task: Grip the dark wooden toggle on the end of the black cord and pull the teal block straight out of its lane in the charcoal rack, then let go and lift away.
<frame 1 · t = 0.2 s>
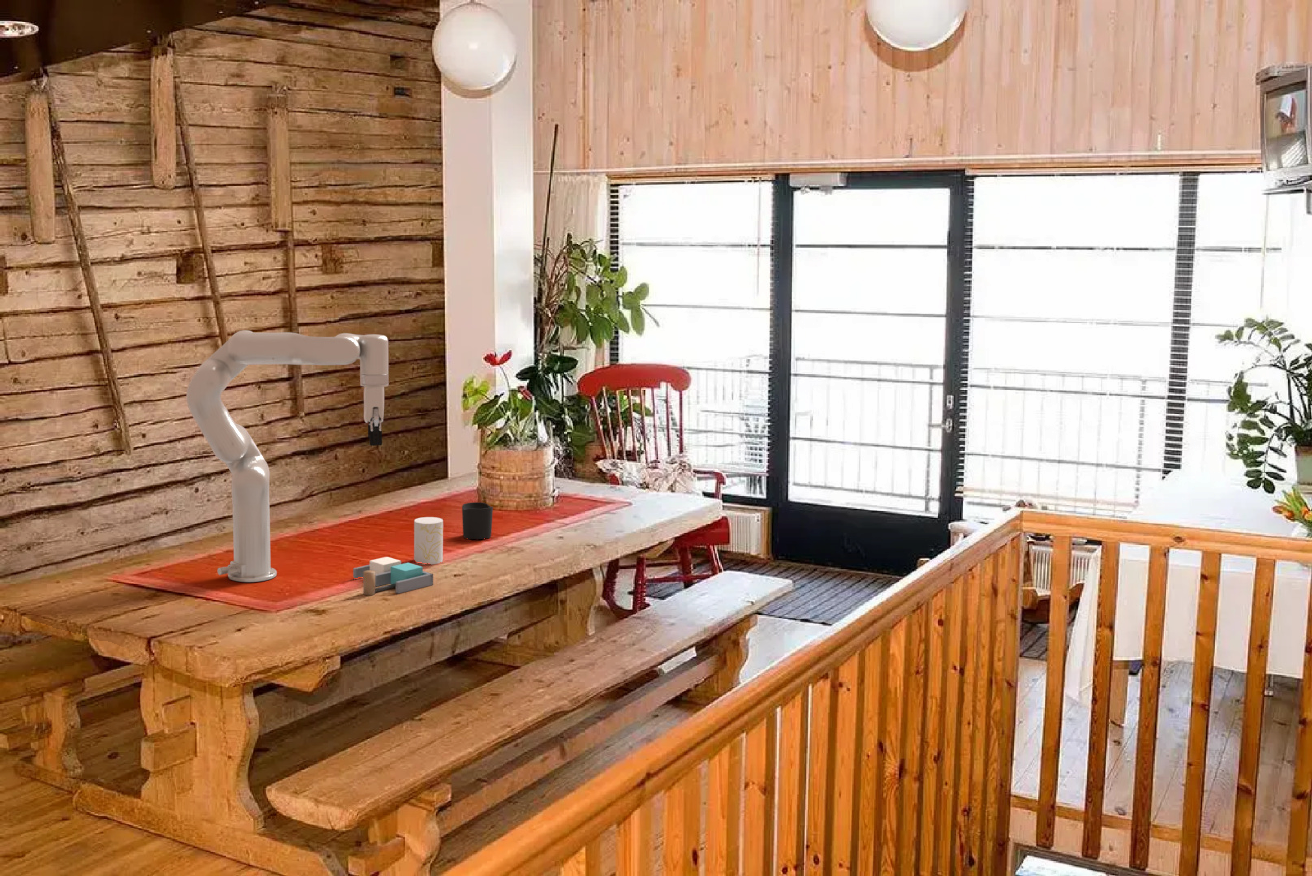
hand: (374, 442, 357), 37 cm above the table, tool pointing down, fingers open, 9 cm apart
off-white block: (385, 578, 358), resting in lane rack
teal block: (406, 584, 352), on the table
lane rack: (393, 581, 354), on the table
pen holder: (477, 537, 405), on the table
cup: (428, 561, 376), on the table
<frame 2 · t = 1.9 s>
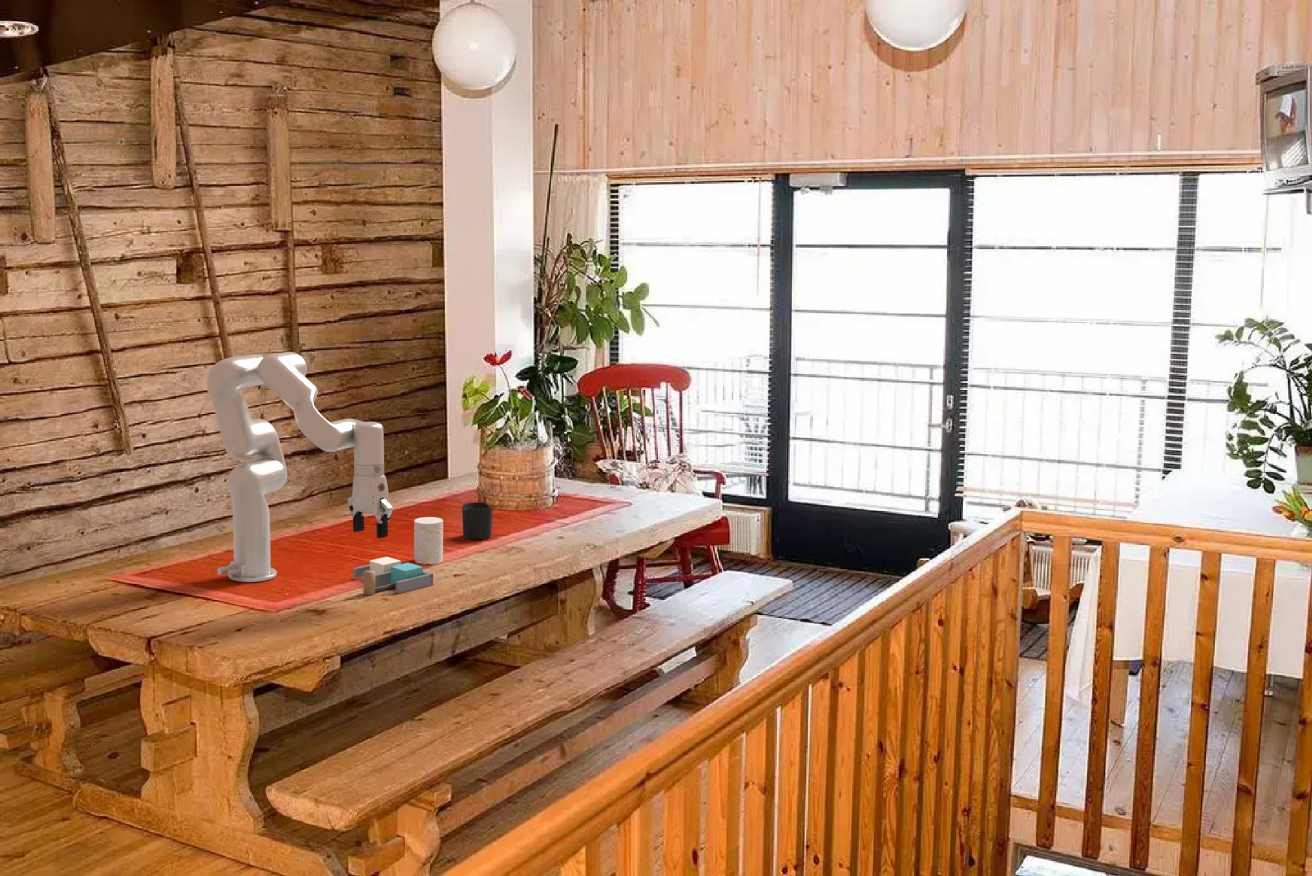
hand: (370, 534, 339), 16 cm above the table, tool pointing down, fingers open, 9 cm apart
nothing on the table moved.
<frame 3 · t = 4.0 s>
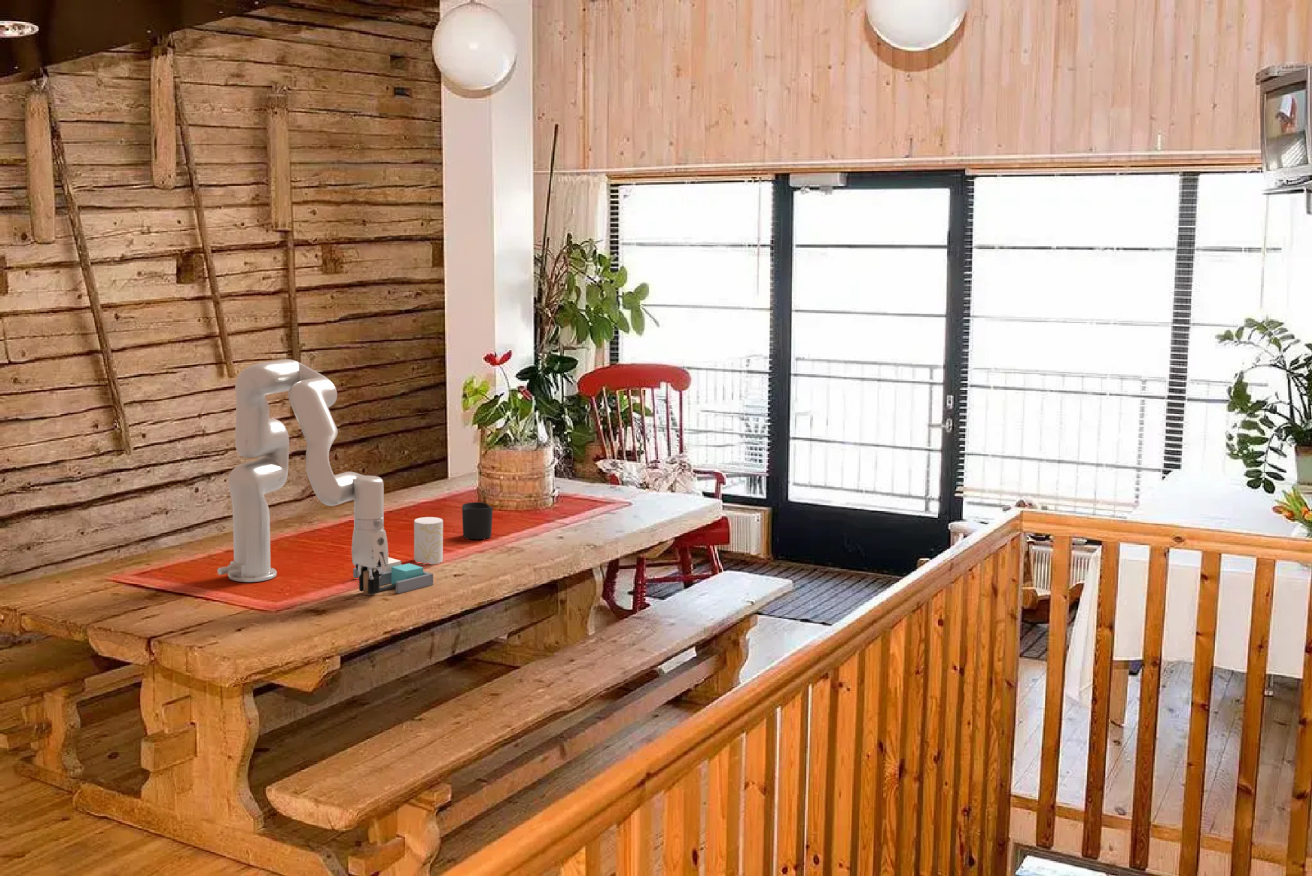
hand: (369, 590, 342), 1 cm above the table, tool pointing down, fingers closed on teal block, 2 cm apart
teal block: (407, 585, 352), on the table, touching gripper
everything else where it was.
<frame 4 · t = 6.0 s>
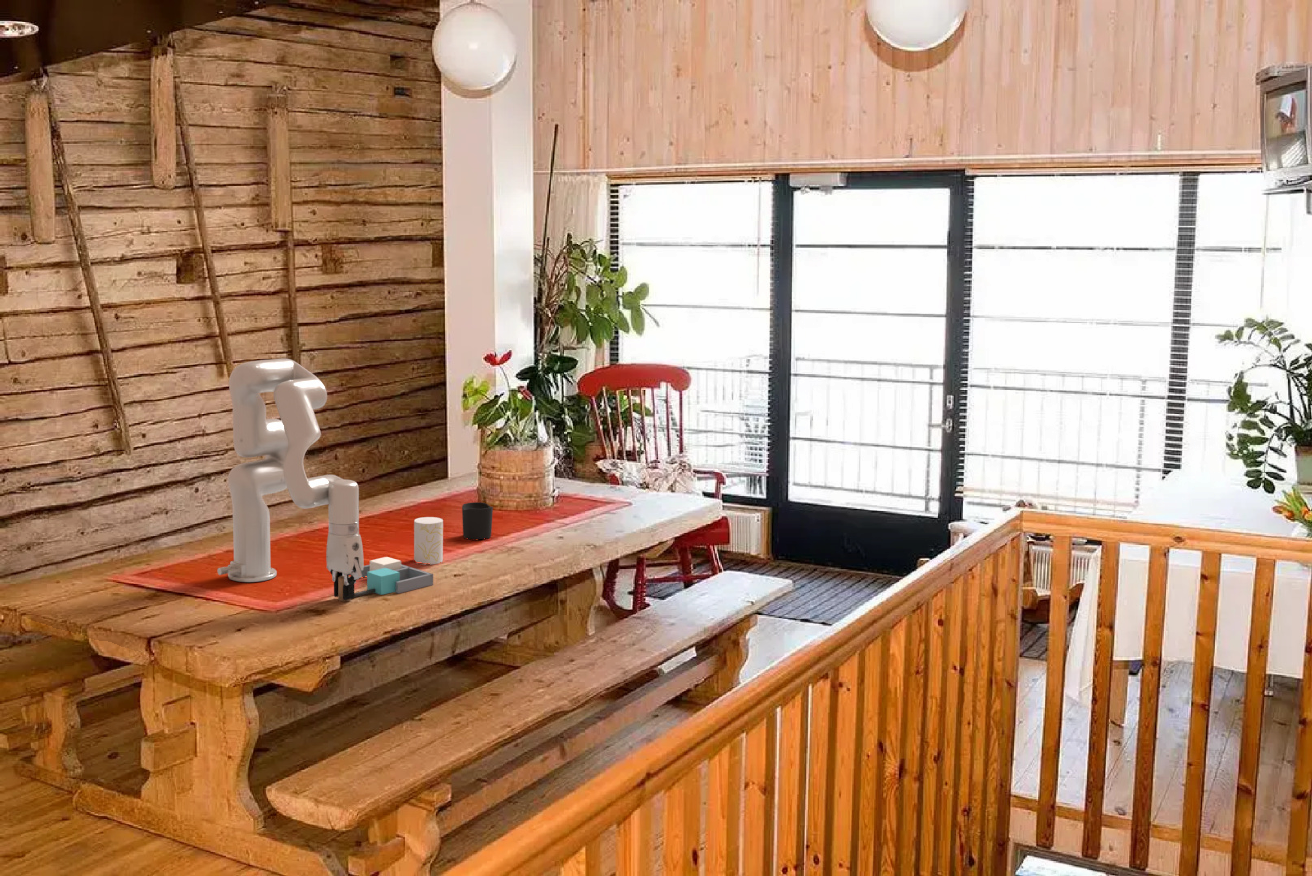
hand: (344, 596, 336), 1 cm above the table, tool pointing down, fingers closed on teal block, 3 cm apart
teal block: (383, 590, 346), on the table, touching gripper
everything else where it was.
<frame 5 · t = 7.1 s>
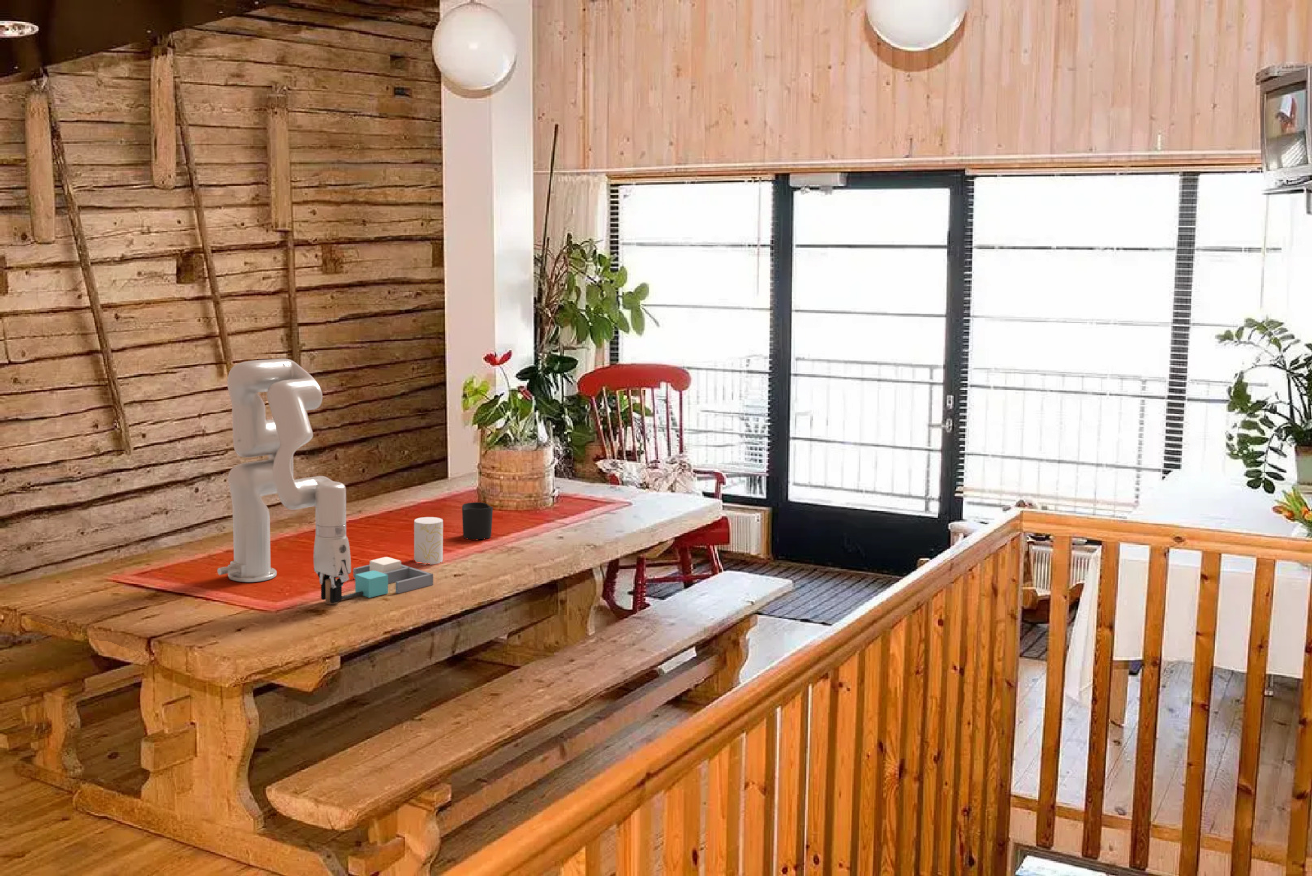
hand: (331, 599, 333), 1 cm above the table, tool pointing down, fingers closed on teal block, 3 cm apart
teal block: (371, 592, 343), on the table, touching gripper
everything else where it was.
when the fingers open (1 cm above the table, at t = 8.1 s): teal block stays where it is, on the table.
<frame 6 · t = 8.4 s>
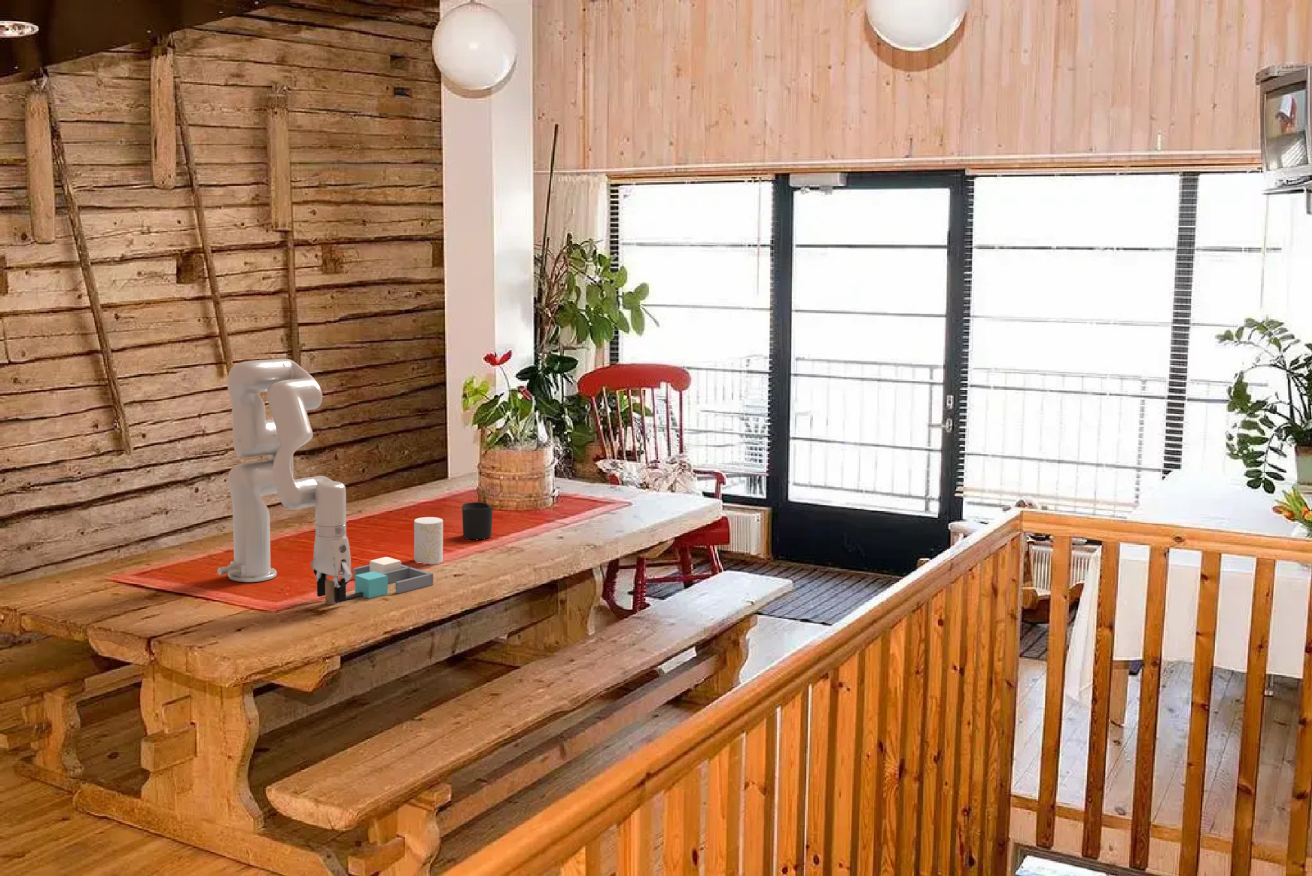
hand: (331, 597, 333), 1 cm above the table, tool pointing down, fingers open, 6 cm apart
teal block: (371, 593, 343), on the table
everything else where it was.
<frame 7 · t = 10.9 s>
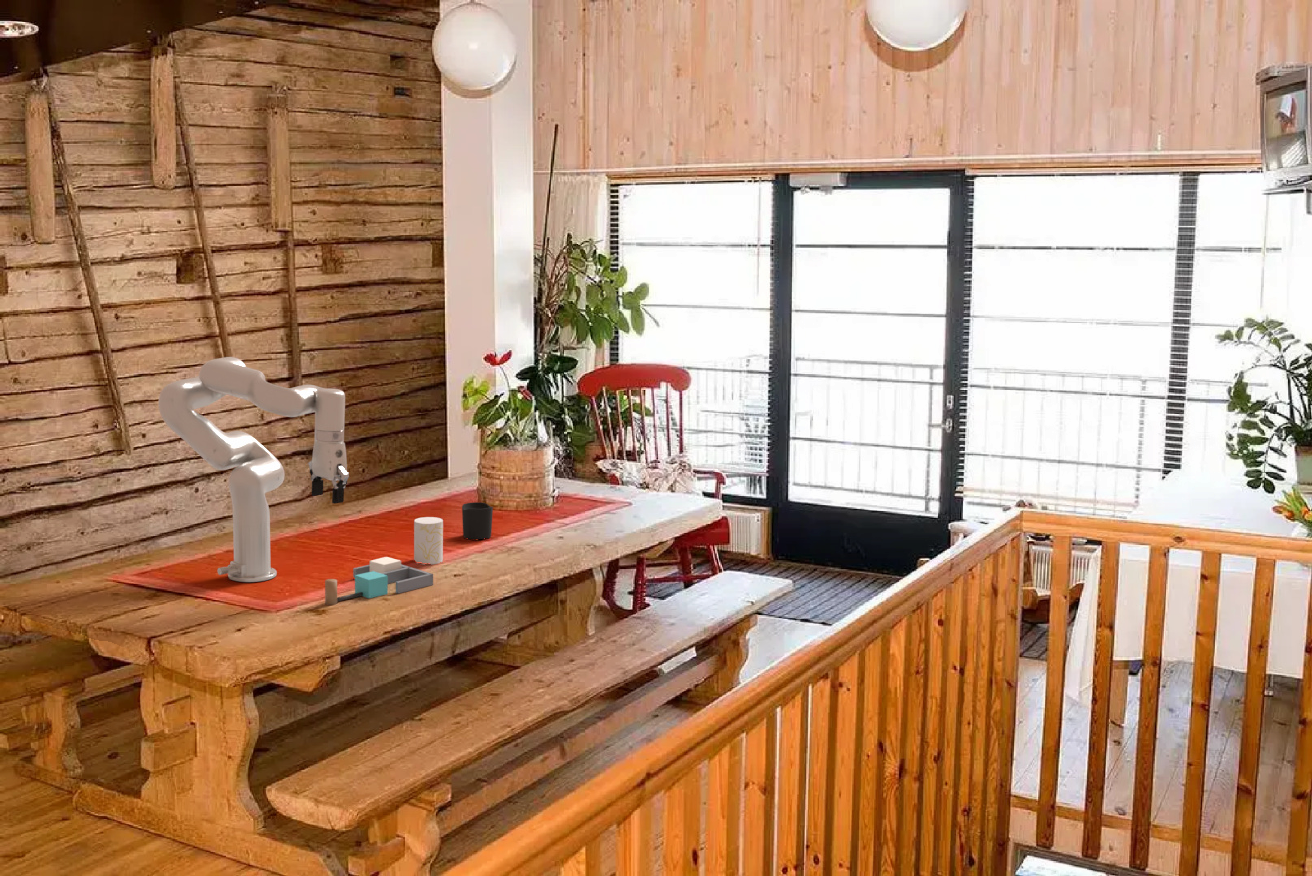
hand: (327, 498, 346), 23 cm above the table, tool pointing down, fingers open, 9 cm apart
nothing on the table moved.
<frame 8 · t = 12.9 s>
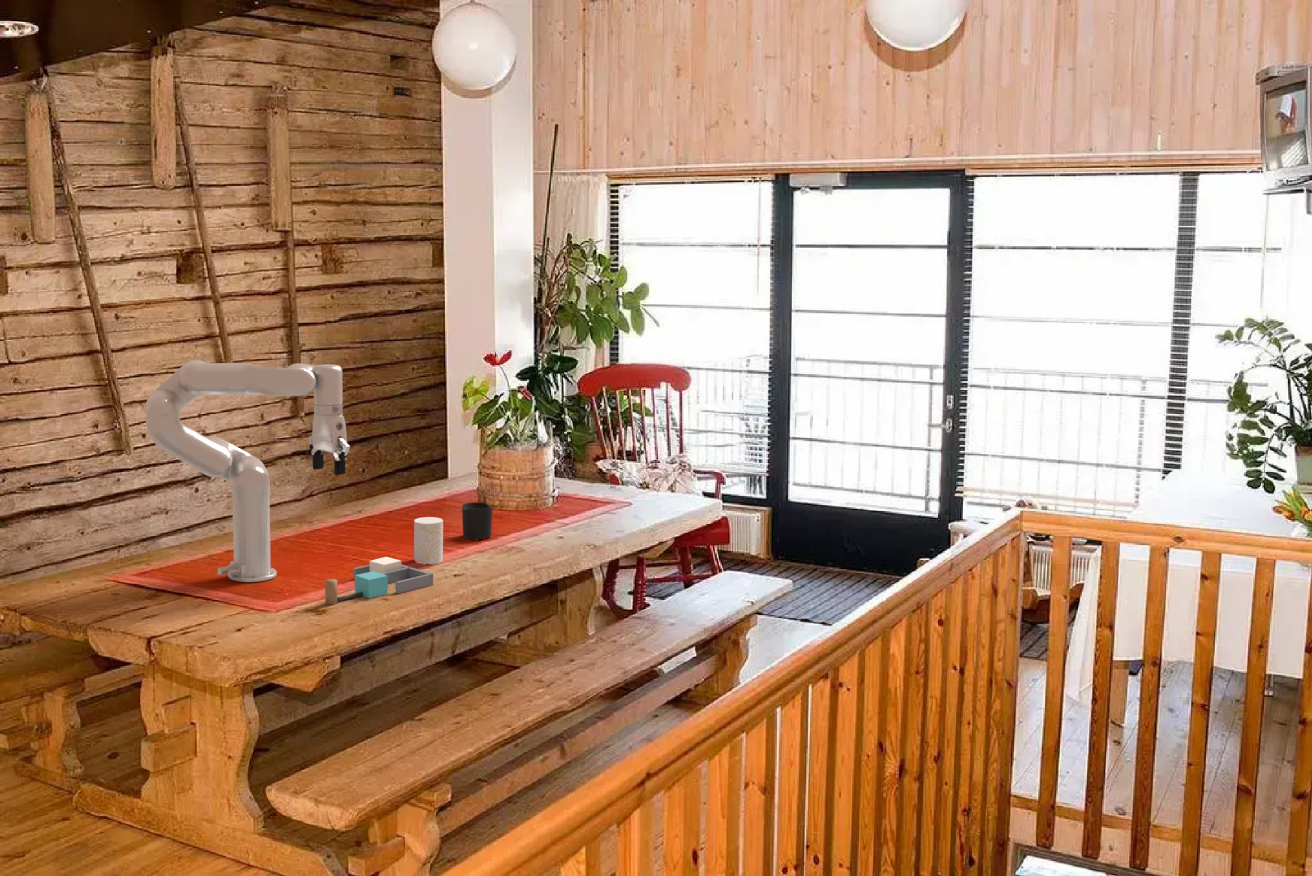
hand: (328, 471, 357), 28 cm above the table, tool pointing down, fingers open, 9 cm apart
nothing on the table moved.
at the end: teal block inside the target area (3.8 cm from its centre), on the table; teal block tilted 0°; the gripper is holding nothing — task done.
